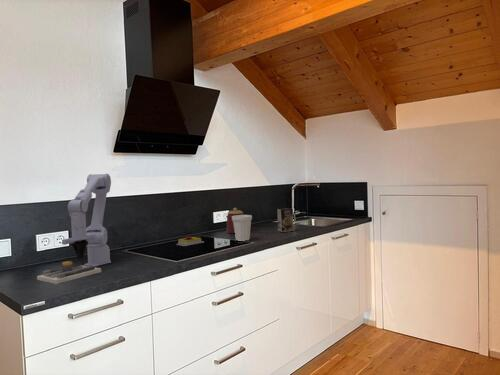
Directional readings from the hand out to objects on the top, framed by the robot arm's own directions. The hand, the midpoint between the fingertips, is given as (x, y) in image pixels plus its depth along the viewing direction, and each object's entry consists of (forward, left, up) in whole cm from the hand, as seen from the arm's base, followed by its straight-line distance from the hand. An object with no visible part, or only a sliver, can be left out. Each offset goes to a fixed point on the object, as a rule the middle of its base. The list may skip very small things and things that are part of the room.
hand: (80, 258), depth 159 cm
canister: (-117, +1, -7) cm, 117 cm away
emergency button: (-73, -2, -7) cm, 74 cm away
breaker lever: (+6, 0, -5) cm, 7 cm away
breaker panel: (+5, 0, -6) cm, 8 cm away
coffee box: (-131, +33, -7) cm, 135 cm away
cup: (-91, +24, -7) cm, 94 cm away
